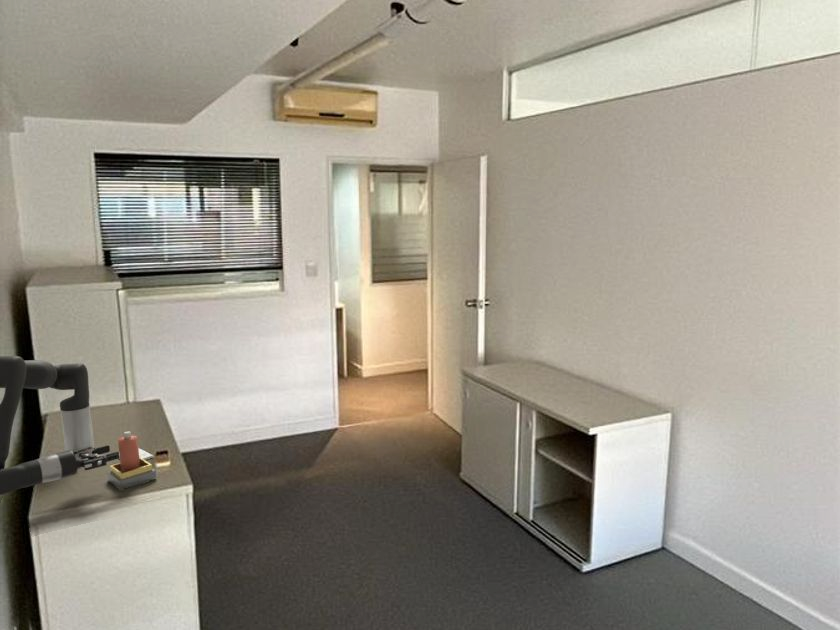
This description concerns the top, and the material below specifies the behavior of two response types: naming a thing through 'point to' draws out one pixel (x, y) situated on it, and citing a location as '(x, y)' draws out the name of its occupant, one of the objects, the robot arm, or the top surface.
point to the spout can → (128, 452)
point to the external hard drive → (143, 455)
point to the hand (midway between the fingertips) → (113, 451)
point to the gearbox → (131, 475)
